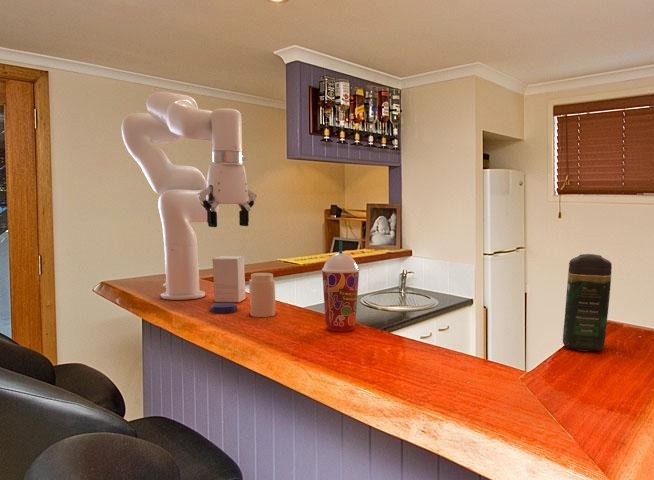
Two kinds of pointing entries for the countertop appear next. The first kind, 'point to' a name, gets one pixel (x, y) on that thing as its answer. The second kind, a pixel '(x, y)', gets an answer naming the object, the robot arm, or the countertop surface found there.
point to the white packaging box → (229, 278)
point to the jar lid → (223, 308)
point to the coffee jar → (587, 302)
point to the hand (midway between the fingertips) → (228, 226)
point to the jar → (262, 295)
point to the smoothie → (340, 291)
